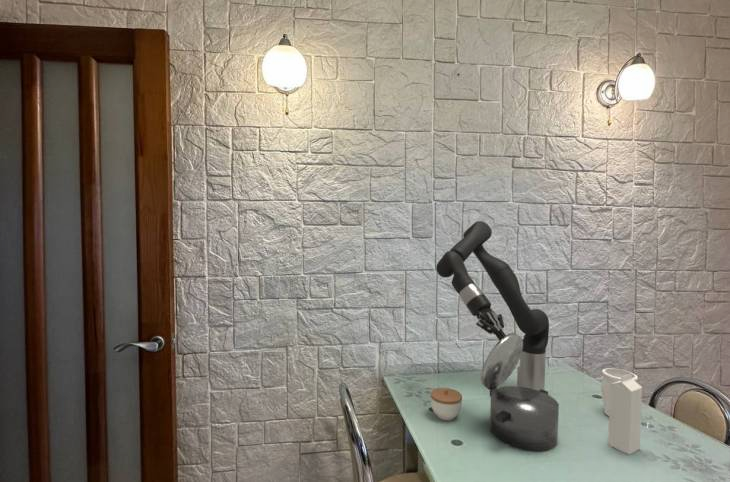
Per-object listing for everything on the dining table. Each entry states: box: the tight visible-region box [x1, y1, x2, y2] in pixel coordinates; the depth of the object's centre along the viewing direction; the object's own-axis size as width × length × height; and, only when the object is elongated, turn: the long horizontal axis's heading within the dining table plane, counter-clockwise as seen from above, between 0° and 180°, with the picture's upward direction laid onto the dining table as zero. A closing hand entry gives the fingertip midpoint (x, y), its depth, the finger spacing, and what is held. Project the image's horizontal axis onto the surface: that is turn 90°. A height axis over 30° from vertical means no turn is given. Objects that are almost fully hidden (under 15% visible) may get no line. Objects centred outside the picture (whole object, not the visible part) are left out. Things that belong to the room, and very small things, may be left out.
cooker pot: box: [489, 385, 560, 453], centre depth 123 cm, size 21×28×11 cm
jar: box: [601, 367, 639, 417], centre depth 134 cm, size 11×10×15 cm
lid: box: [480, 332, 523, 391], centre depth 128 cm, size 20×20×3 cm
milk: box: [607, 374, 643, 455], centre depth 115 cm, size 6×6×22 cm
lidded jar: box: [430, 387, 463, 421], centre depth 133 cm, size 11×11×9 cm
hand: (505, 341), depth 126 cm, fingers closed
